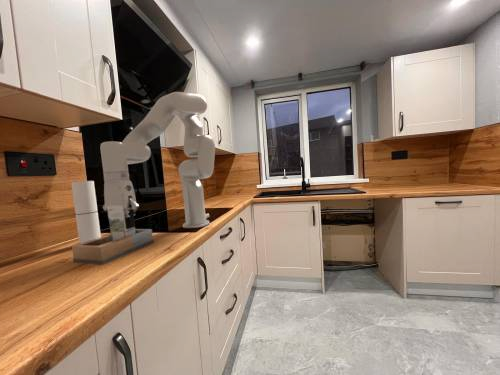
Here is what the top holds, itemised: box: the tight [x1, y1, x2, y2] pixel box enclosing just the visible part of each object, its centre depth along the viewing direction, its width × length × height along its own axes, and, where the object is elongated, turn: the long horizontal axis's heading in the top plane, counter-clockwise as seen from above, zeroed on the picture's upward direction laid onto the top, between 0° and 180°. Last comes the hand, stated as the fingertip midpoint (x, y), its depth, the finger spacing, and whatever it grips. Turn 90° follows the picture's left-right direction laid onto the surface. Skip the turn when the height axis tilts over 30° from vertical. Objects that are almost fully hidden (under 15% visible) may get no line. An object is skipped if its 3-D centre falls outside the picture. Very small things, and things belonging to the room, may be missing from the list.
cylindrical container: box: [71, 180, 102, 244], centre depth 89 cm, size 7×7×25 cm
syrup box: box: [107, 205, 136, 241], centre depth 79 cm, size 6×6×14 cm
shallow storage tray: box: [71, 228, 154, 265], centre depth 76 cm, size 20×13×5 cm, turn 161°
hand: (122, 227), depth 79 cm, fingers closed on syrup box, 6 cm apart
